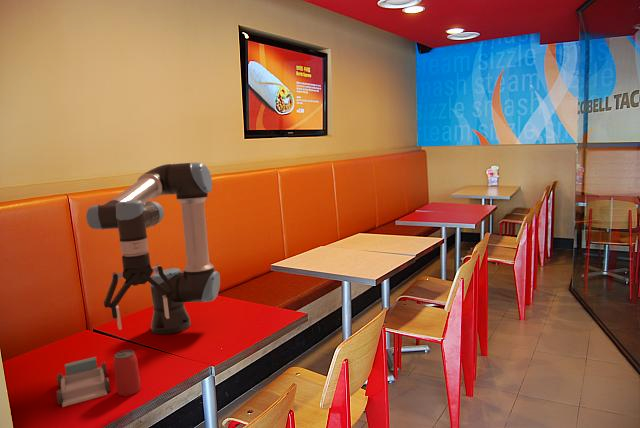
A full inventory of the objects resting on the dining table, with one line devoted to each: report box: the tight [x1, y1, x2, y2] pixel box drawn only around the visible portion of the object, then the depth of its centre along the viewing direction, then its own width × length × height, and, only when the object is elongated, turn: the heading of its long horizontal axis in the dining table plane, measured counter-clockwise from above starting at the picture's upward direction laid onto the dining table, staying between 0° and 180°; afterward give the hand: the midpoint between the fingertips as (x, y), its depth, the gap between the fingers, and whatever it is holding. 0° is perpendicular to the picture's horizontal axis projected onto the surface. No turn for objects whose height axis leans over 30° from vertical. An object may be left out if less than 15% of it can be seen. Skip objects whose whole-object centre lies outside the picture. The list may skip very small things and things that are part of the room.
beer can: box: [113, 349, 141, 397], centre depth 148 cm, size 7×7×12 cm
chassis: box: [56, 356, 111, 408], centre depth 152 cm, size 17×14×6 cm
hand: (144, 322), depth 148 cm, fingers open, 13 cm apart
